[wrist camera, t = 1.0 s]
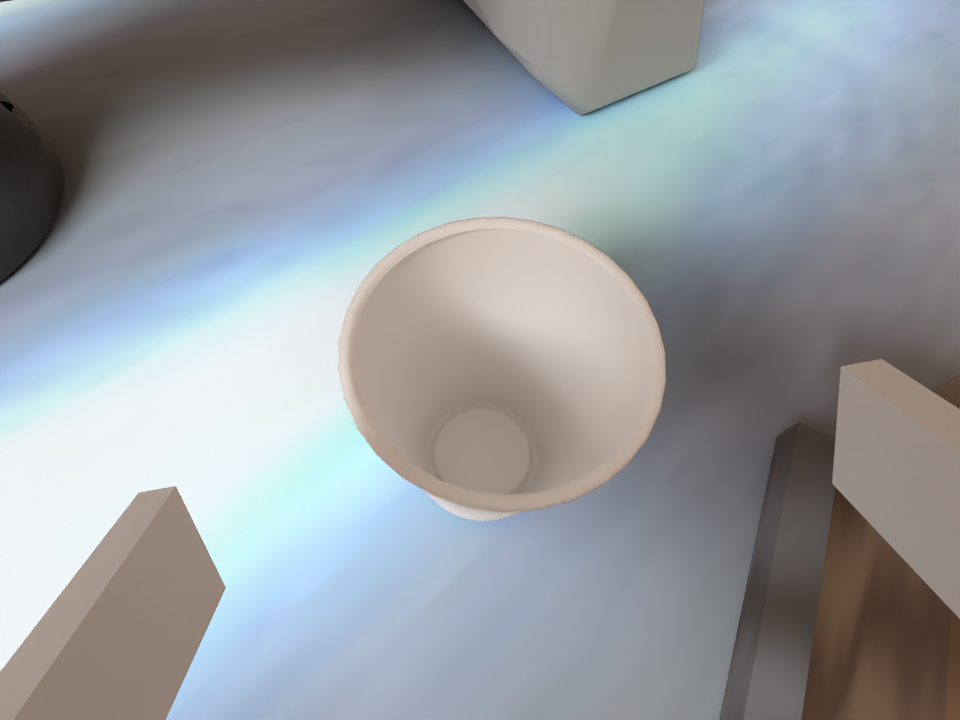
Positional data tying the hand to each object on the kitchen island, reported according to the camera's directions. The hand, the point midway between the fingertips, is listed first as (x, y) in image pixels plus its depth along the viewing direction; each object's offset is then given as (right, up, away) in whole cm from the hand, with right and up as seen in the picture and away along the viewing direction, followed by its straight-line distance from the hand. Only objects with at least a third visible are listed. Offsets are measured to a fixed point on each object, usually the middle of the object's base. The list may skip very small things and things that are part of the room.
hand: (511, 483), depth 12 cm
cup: (-1, -2, +16) cm, 16 cm away
